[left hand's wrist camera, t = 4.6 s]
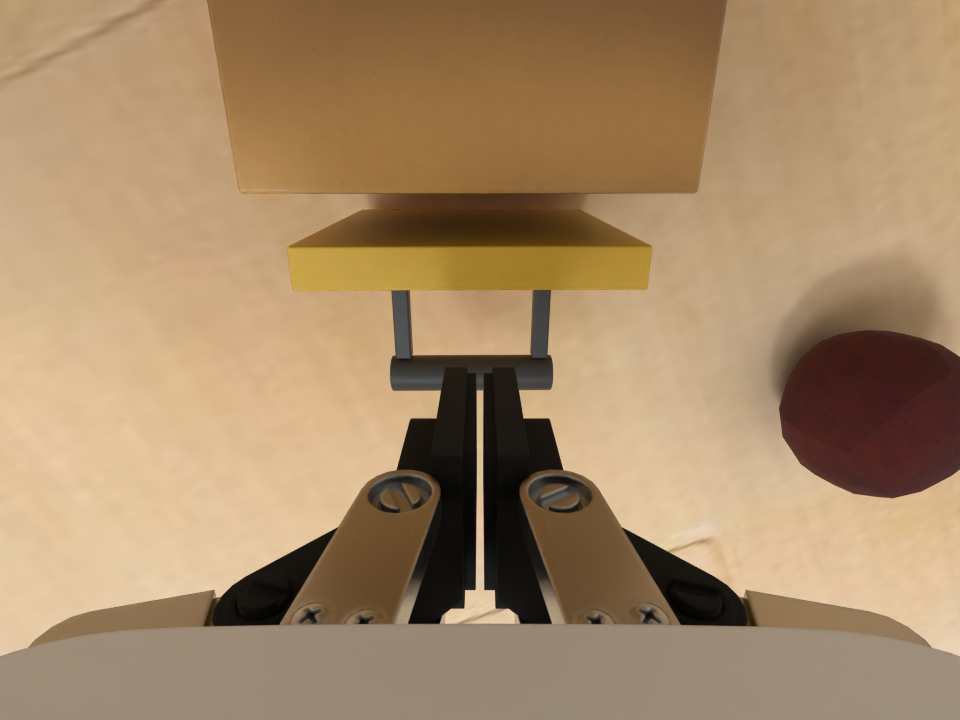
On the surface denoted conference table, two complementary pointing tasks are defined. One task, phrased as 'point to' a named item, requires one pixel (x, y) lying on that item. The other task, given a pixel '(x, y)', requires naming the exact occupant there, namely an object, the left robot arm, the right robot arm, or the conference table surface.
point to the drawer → (469, 272)
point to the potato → (875, 412)
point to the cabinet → (467, 94)
